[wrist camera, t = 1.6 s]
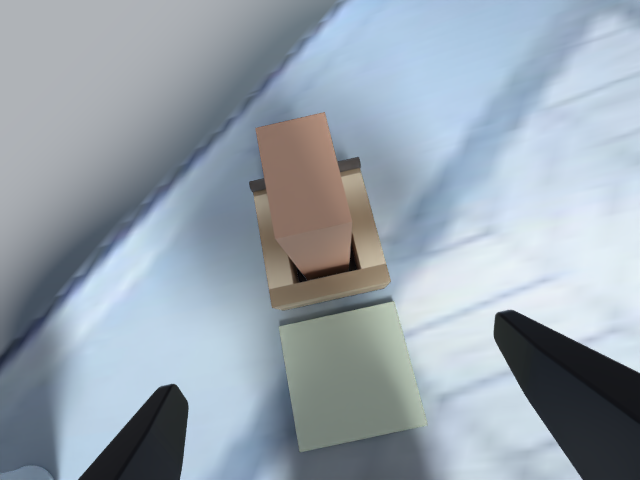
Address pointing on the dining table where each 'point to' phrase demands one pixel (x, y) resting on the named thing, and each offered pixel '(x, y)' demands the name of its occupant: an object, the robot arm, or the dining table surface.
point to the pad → (350, 377)
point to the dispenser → (362, 280)
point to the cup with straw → (27, 474)
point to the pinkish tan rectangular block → (306, 195)
